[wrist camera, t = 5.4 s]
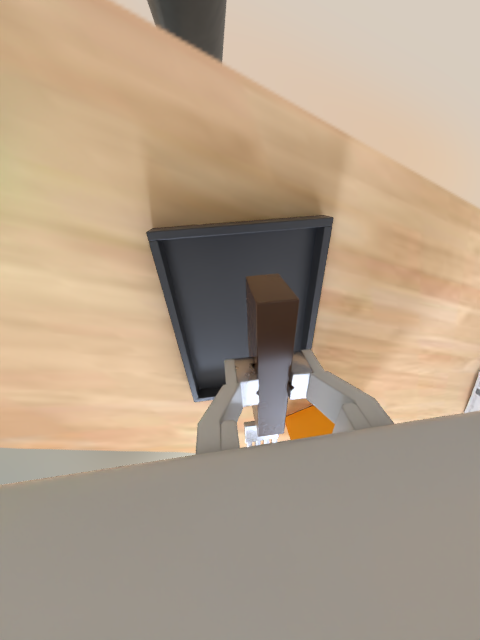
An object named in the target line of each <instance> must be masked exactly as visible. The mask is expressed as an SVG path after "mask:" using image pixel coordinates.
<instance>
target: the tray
mask: <svg viewBox="0 0 480 640" xmlns="http://www.w3.org/2000/svg"><path fill="white" fill-rule="evenodd" d="M332 223H333V217H329V216H324V215H319V216H306V217H293V218H280V219H267V220H254V221H242V222H229V223H216V224H203V225H190V226H177V227H164V228H153V229H151V230H149V231H148V232H146V233H147V237H148V240H149V244H150V248H151V251H152V255H153V258H154V262H155V265H156V269H157V272H158V276H159V280H160V283H161V287H162V290H163V294H164V297H165V301H166V304H167V308H168V311H169V315H170V318H171V322H172V325H173V329H174V332H175V336H176V339H177V343H178V346H179V350H180V353H181V357H182V361H183V364H184V368H185V371H186V375H187V378H188V382H189V385H190V389H191V392H192V396H193V399H194V402H200V401H207V400H214V398H215V397H216V395H217V394H218V392H219V390H220V389H221V387H222V386H223V385H226V378H225V364H224V361H225V360H226V359H234V358H244V357H249V350H248V326H247V302H246V276H256V275H266V274H277V273H278V274H279V275H280V276H281V277H282V278H283V280H284V281H285V282H286V283H287V285H288V286H289V287H290V288H291V290H292V291H293V292H294V293H295V295H296V296H297V297H298V298H299V300H300V301H299V310H298V318H297V327H296V335H295V343H294V351H300V350H306V349H310V350H311V348H312V342H313V336H314V330H315V324H316V318H317V313H318V307H319V301H320V295H321V289H322V283H323V277H324V271H325V265H326V260H327V254H328V248H329V242H330V236H331V230H332Z"/></svg>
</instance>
